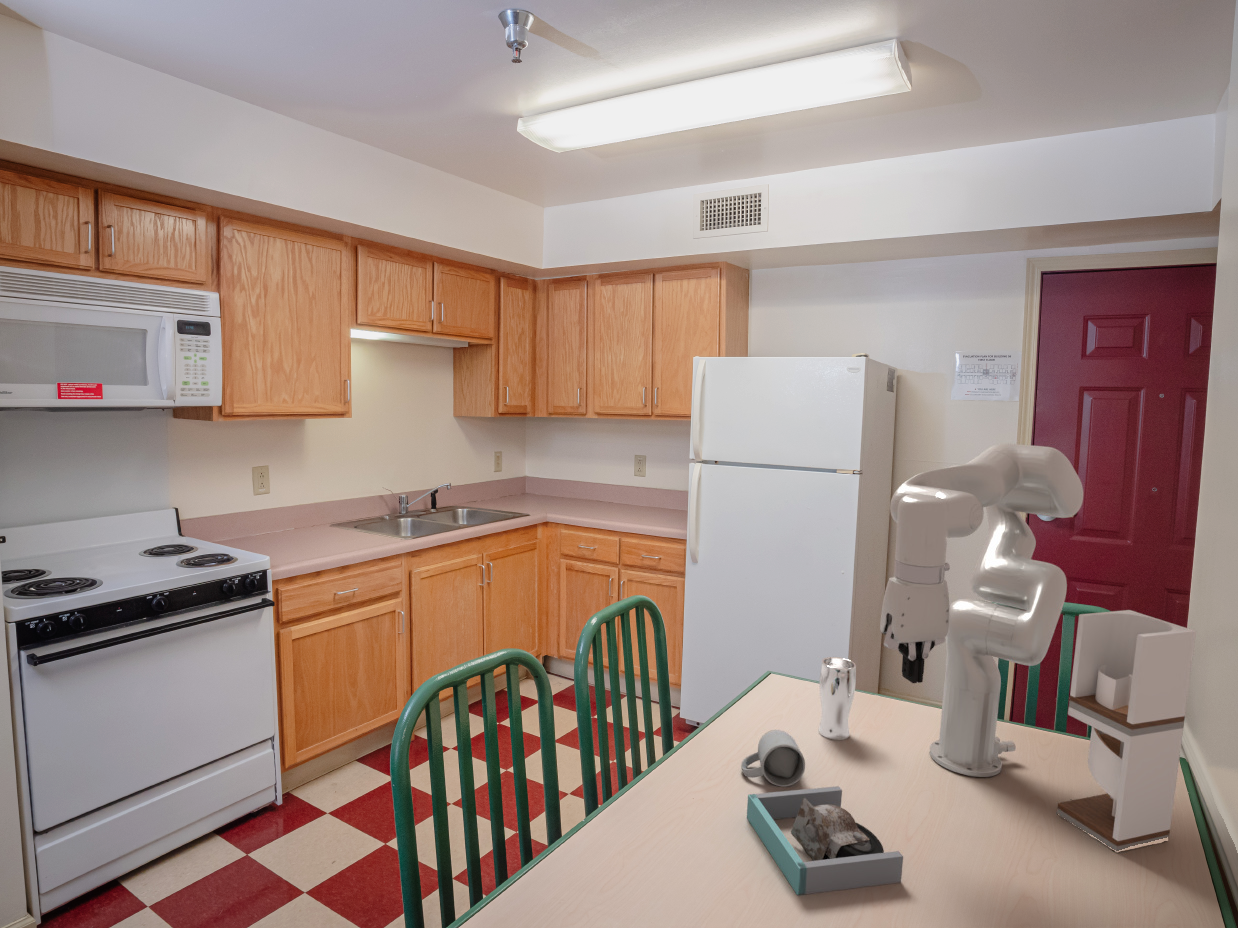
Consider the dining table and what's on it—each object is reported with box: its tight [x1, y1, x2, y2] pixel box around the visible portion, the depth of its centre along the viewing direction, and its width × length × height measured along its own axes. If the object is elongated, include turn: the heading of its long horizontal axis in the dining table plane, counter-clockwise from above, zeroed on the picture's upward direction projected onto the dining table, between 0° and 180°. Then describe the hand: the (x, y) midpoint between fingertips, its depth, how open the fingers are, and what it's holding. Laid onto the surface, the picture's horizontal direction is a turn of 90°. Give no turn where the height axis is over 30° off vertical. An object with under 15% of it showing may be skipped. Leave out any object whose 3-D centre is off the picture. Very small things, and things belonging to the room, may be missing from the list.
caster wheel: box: [790, 798, 885, 861], centre depth 111 cm, size 7×11×10 cm
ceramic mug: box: [740, 729, 806, 788], centre depth 133 cm, size 11×8×8 cm
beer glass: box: [818, 656, 857, 741], centre depth 149 cm, size 7×7×15 cm
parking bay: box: [746, 785, 904, 896], centre depth 113 cm, size 16×18×4 cm
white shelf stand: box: [1056, 609, 1197, 851], centre depth 119 cm, size 11×11×35 cm
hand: (912, 679), depth 121 cm, fingers closed
